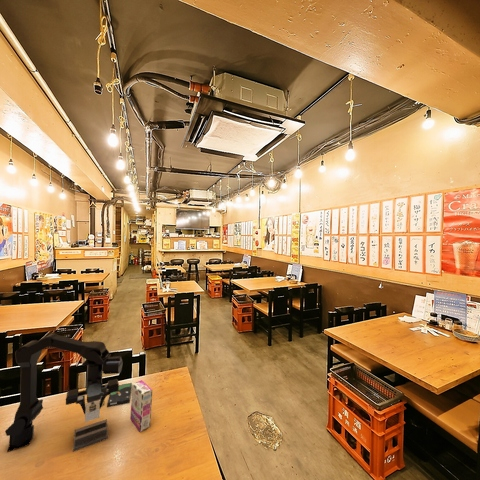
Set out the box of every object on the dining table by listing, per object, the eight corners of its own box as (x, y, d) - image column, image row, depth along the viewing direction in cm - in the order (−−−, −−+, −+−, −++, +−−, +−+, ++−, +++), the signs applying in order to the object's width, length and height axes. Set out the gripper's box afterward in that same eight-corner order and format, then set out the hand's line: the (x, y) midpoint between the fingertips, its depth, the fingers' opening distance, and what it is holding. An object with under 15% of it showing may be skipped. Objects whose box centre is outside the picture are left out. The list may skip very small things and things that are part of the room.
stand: (72, 451, 89) (73, 445, 89) (74, 432, 98) (74, 426, 98) (108, 438, 95) (108, 432, 95) (106, 421, 104) (107, 415, 104)
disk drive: (129, 404, 117) (131, 387, 131) (129, 398, 117) (132, 382, 131) (106, 408, 113) (111, 390, 127) (107, 403, 113) (111, 385, 127)
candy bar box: (151, 426, 102) (153, 389, 103) (140, 433, 99) (142, 394, 99) (140, 413, 110) (142, 379, 111) (129, 419, 106) (131, 383, 107)
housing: (85, 411, 98) (85, 401, 98) (98, 407, 101) (99, 397, 101) (84, 422, 92) (85, 411, 93) (99, 417, 95) (99, 407, 95)
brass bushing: (96, 408, 112) (97, 405, 112) (96, 404, 115) (97, 401, 115) (104, 406, 114) (104, 403, 114) (104, 402, 117) (104, 399, 117)
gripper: (65, 391, 86) (62, 433, 85) (121, 377, 96) (118, 415, 95) (68, 376, 95) (65, 414, 94) (118, 365, 105) (116, 399, 105)
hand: (92, 411), depth 97 cm, fingers closed on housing, 5 cm apart
